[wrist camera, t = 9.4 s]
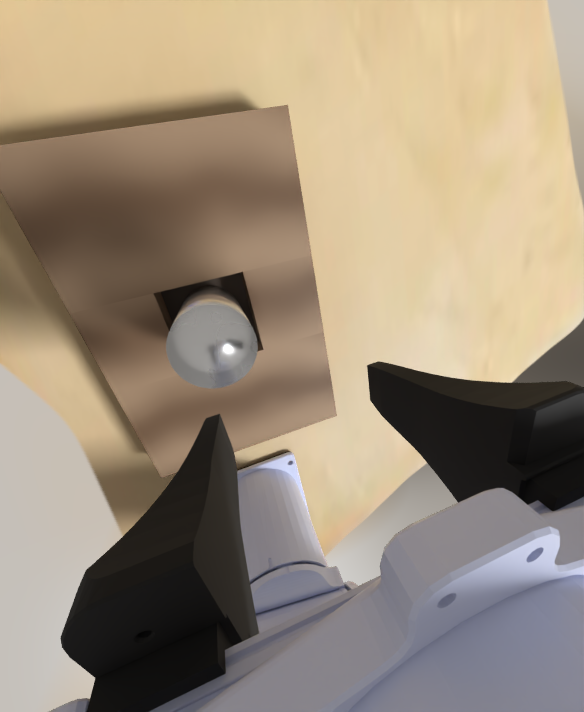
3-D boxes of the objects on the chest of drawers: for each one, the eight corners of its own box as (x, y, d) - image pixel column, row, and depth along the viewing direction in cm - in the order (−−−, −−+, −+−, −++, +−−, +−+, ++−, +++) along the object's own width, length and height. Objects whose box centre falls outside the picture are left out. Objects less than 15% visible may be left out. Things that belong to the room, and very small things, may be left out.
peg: (248, 335, 20) (266, 373, 14) (193, 350, 19) (185, 399, 13) (232, 279, 18) (244, 294, 12) (171, 294, 18) (150, 319, 11)
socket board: (325, 400, 25) (336, 415, 23) (165, 454, 22) (161, 477, 20) (276, 123, 16) (287, 104, 14) (13, 163, 14) (-24, 148, 12)
